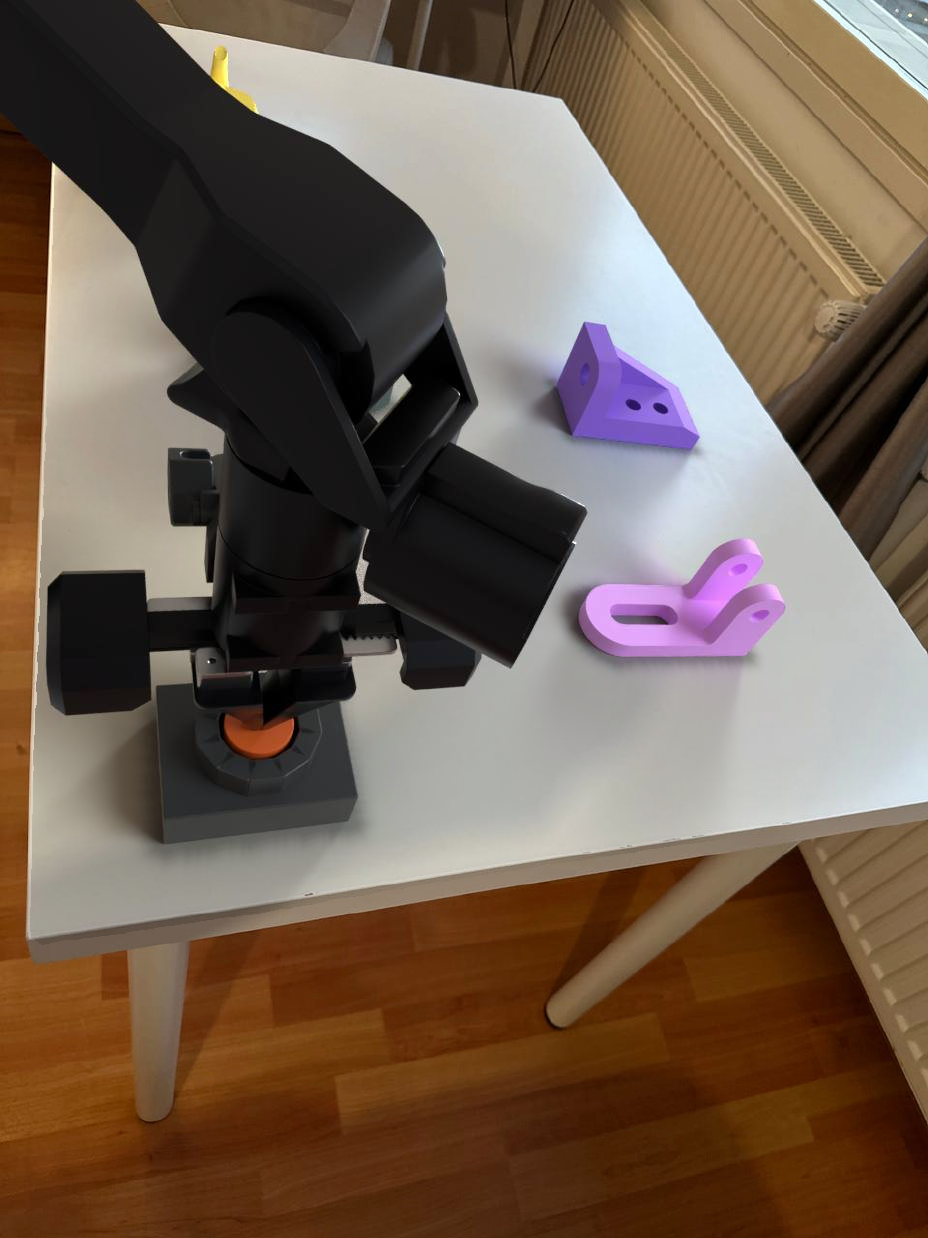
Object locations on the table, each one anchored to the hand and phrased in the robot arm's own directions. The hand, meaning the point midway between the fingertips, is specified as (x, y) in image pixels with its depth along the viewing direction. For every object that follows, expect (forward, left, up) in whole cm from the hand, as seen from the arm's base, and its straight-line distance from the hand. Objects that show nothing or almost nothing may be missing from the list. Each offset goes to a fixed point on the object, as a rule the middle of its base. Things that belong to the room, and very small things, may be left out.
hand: (258, 722), depth 46 cm
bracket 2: (+21, +24, -5) cm, 32 cm away
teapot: (-32, +51, -5) cm, 60 cm away
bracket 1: (+13, +47, -5) cm, 49 cm away
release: (0, 0, -5) cm, 5 cm away
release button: (0, 0, -2) cm, 2 cm away
